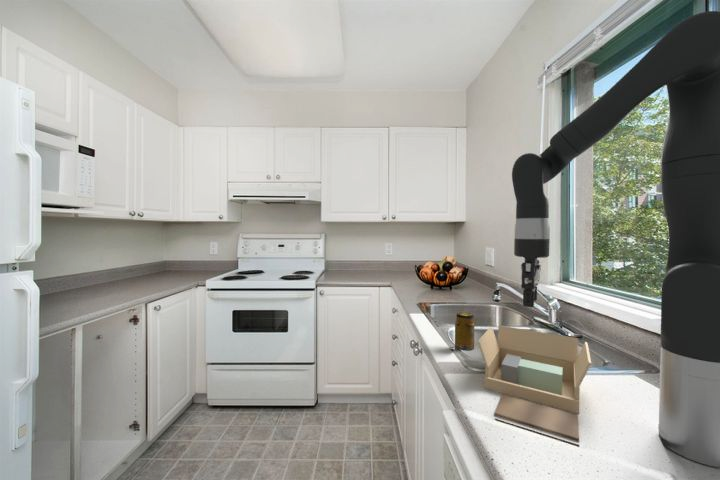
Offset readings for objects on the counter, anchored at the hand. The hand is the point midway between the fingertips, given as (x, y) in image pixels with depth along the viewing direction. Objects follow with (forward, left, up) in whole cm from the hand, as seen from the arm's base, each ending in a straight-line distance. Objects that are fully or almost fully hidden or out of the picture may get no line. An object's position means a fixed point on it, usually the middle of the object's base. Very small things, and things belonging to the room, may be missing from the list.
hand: (530, 303), depth 76 cm
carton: (-1, 0, -21) cm, 21 cm away
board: (-3, +15, -21) cm, 26 cm away
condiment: (+19, -16, -21) cm, 33 cm away
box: (0, 0, -20) cm, 20 cm away
